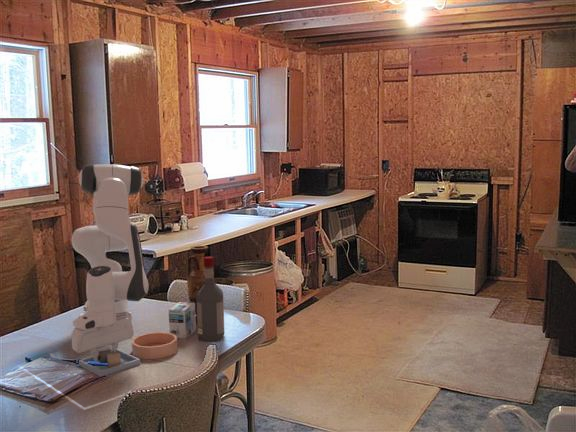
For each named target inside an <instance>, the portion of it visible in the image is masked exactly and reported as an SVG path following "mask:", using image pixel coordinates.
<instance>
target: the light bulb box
mask: <svg viewBox="0 0 576 432" xmlns="http://www.w3.org/2000/svg"><path fill="white" fill-rule="evenodd" d="M195 316H196V314H195V303H190V301H189V302H187V301H178V302H177V303H176V304H175V305H173V306H171V307H170V308H169V309H168V323H169V324H168V325H169V326H168V328H169V333H171V334H174V335H176V337H177V339H188V337H190V336H191V335H192V334H193V333H194V332H196V330H197V324H196V319H195Z"/></svg>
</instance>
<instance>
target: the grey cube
mask: <svg viewBox="0 0 576 432" xmlns="http://www.w3.org/2000/svg"><path fill="white" fill-rule="evenodd" d="M110 353H111V348H109V347H103V348H99V349H97V354H99V355H100V359H101V360H99V362H100V363H108V361H107V355H108V354H110Z"/></svg>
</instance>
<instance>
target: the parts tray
mask: <svg viewBox="0 0 576 432" xmlns="http://www.w3.org/2000/svg"><path fill="white" fill-rule="evenodd" d="M115 352H116V353H120V359H121V364H120V365H117V366H114V367H111V368H108V366H92V365H90V364H88V363H86V362H88V361H94V355H92V356H88V357H85V358H81V359H79V360H78V366H80V367H82V368H83V369H85V370H87V371H89V372H90V371H91V373H92V372H93V373H92V374H94V373H95V374H94V375H96V376H98V377H99V378H100V377H101V378H102V377H105V376H107V375H110V374H111V375H112V374H113V373H118V372H120V371H123V370H126V369H129V368H133V367H135V366H138V365H141V358H138V357H135V356H133V355H132V354H130V353H128V352H126V351H124V350H122V349H120V348H117V349H116V351H115Z"/></svg>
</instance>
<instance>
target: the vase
mask: <svg viewBox="0 0 576 432" xmlns="http://www.w3.org/2000/svg"><path fill="white" fill-rule="evenodd" d="M208 250H209V246H206V245H196V246H191V247H190V251H191V252H192V253H193V254H194V255H190V256H189V258H188V260H187V272H186V273H185V274H186V276H185V277H186V284H187V295H188V298H189V299H188V300H189V303H195V319H196V325H197V300H196V298H197V294H198V292H199V290H200V289H201V288H202V286H203V285H204V282H205V267H204V257H205V254H206V253H207V252H208ZM192 260H193V261H194V268H193V269H194V270H193V269H192Z"/></svg>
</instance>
